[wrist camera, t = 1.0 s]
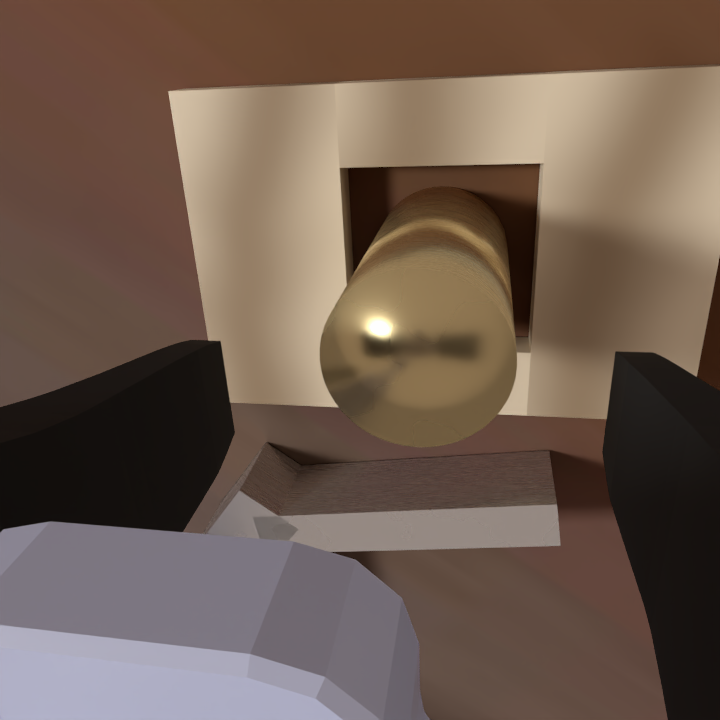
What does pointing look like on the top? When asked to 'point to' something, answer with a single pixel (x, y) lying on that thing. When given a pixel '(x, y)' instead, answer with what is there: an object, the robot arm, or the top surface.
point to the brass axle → (425, 324)
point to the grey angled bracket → (395, 503)
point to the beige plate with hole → (461, 147)
